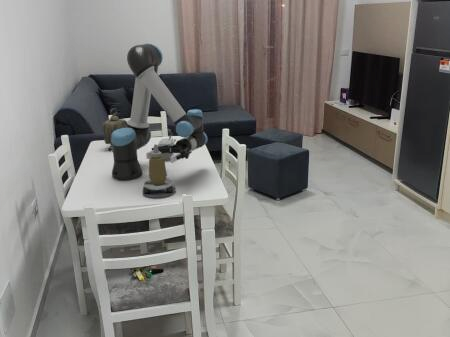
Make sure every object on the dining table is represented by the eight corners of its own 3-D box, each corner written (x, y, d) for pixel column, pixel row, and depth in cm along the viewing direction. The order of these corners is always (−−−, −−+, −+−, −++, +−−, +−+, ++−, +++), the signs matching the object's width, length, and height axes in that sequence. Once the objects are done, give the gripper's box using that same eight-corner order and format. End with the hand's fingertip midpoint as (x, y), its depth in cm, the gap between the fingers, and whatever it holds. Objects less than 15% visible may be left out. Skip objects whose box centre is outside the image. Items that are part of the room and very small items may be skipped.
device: (172, 161, 240) (171, 144, 237) (154, 161, 240) (153, 144, 237) (179, 146, 269) (178, 130, 266) (163, 146, 269) (162, 131, 266)
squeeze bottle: (154, 187, 191) (151, 148, 185) (146, 182, 197) (143, 144, 192) (170, 183, 196) (168, 145, 190) (162, 178, 202) (159, 141, 196)
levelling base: (140, 199, 191) (139, 189, 189) (145, 186, 205) (144, 177, 203) (174, 197, 191) (173, 188, 190) (177, 185, 205) (176, 176, 204)
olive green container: (117, 144, 275) (113, 105, 267) (130, 145, 272) (126, 106, 264) (105, 151, 262) (100, 110, 254) (118, 152, 259) (113, 111, 251)
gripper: (207, 156, 206) (182, 169, 189) (165, 150, 218) (138, 162, 200) (207, 141, 204) (181, 153, 186) (164, 135, 215) (136, 146, 198)
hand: (158, 157), depth 193 cm, fingers open, 13 cm apart
